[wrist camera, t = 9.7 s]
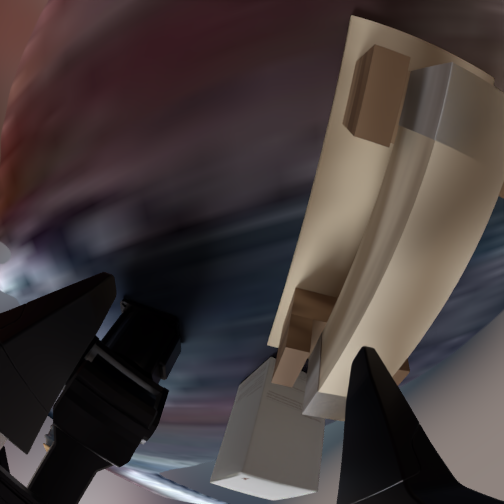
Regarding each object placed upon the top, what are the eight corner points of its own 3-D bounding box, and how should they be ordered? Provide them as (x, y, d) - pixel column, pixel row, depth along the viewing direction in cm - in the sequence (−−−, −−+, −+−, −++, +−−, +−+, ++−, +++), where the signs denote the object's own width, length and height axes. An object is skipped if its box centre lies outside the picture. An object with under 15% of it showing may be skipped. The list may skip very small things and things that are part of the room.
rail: (308, 358, 21) (301, 414, 17) (410, 70, 11) (451, 61, 6) (352, 367, 21) (352, 422, 17) (469, 99, 10) (524, 107, 6)
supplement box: (237, 384, 31) (205, 482, 21) (271, 353, 28) (241, 473, 17) (290, 408, 32) (272, 502, 21) (330, 382, 28) (319, 493, 17)
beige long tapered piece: (269, 337, 26) (252, 400, 20) (349, 19, 13) (365, -21, 7) (369, 359, 25) (372, 421, 19) (487, 78, 12) (550, 81, 6)
